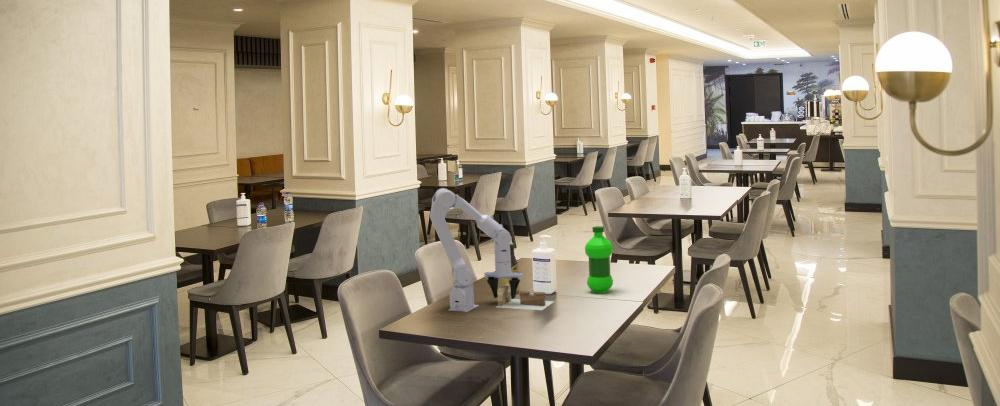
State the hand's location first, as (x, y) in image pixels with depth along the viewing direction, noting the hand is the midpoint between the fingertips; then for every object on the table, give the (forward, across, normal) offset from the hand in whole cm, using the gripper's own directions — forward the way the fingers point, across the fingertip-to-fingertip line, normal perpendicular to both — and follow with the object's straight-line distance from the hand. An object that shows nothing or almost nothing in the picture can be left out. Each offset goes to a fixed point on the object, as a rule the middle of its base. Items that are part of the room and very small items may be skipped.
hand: (504, 297), depth 275 cm
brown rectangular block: (+2, -11, 0) cm, 11 cm away
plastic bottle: (+3, -28, -27) cm, 39 cm away
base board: (+2, -8, 0) cm, 8 cm away
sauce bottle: (+3, +4, -15) cm, 16 cm away
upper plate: (+2, 0, 0) cm, 2 cm away
